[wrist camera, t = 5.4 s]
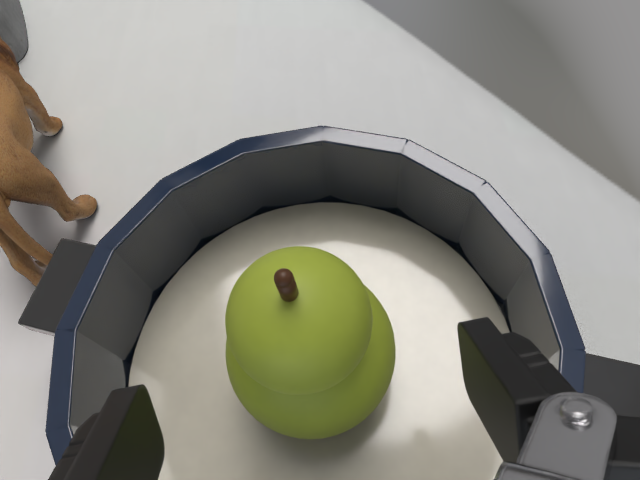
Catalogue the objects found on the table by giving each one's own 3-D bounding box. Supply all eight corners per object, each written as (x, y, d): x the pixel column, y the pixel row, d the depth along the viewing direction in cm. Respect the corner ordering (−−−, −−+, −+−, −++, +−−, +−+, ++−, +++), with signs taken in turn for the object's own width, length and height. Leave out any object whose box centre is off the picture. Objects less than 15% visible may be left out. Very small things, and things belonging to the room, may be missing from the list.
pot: (-3, 530, 21) (-103, 533, 17) (166, 159, 28) (128, 94, 24) (573, 729, 17) (643, 803, 13) (599, 238, 24) (649, 176, 20)
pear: (226, 426, 22) (123, 363, 13) (270, 288, 24) (210, 155, 15) (375, 467, 21) (376, 430, 12) (405, 318, 23) (426, 193, 14)
